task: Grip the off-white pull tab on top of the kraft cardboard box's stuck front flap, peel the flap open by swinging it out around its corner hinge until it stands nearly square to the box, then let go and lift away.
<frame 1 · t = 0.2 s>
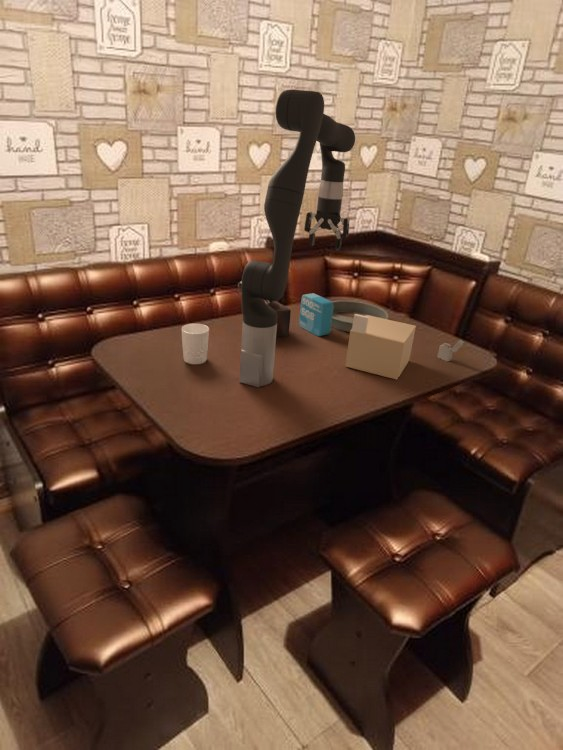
hand: (324, 247, 175), 29 cm above the table, tool pointing down, fingers open, 8 cm apart
lighter: (447, 361, 174), on the table
white cup: (195, 360, 160), on the table
cake pan: (353, 323, 199), on the table
carton: (378, 363, 168), on the table
pepper mill: (261, 333, 182), on the table
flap: (375, 346, 157), point 9 cm above the table, hinge at 0.0°, touching carton
data package: (313, 331, 188), on the table
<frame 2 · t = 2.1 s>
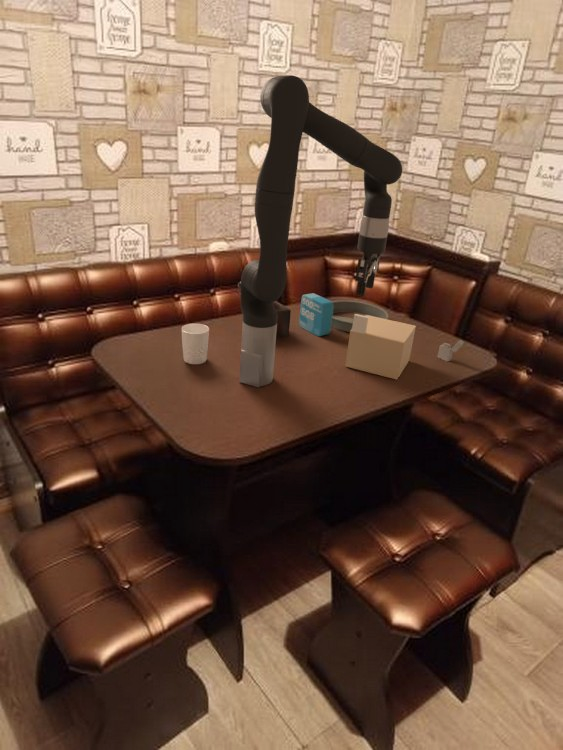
hand: (364, 291, 152), 24 cm above the table, tool pointing down, fingers open, 8 cm apart
nothing on the table moved.
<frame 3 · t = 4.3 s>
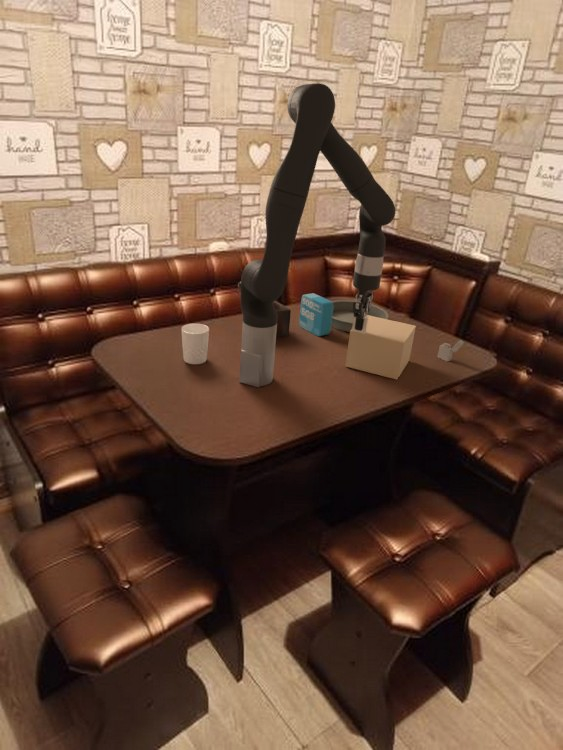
hand: (359, 328, 157), 13 cm above the table, tool pointing down, fingers closed
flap: (375, 346, 157), point 9 cm above the table, hinge at 0.0°, touching carton, gripper
everything else where it was.
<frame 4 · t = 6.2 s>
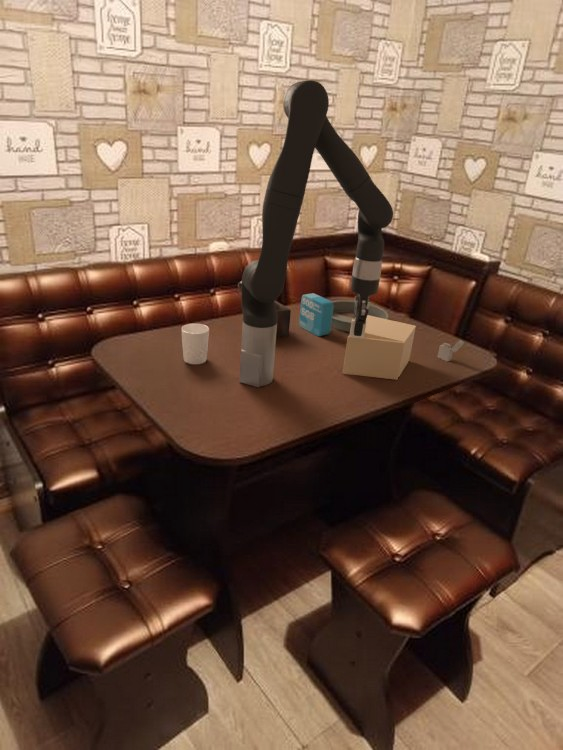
hand: (357, 333, 153), 13 cm above the table, tool pointing down, fingers closed
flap: (374, 350, 155), point 9 cm above the table, hinge at 18.9°, touching gripper
everything else where it was.
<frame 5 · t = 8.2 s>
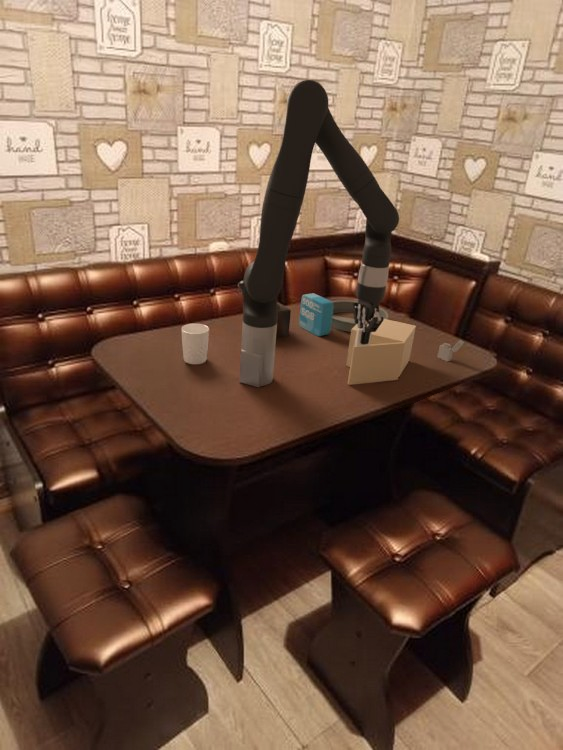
hand: (362, 342, 148), 13 cm above the table, tool pointing down, fingers closed
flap: (377, 355, 152), point 9 cm above the table, hinge at 44.6°, touching gripper
everything else where it was.
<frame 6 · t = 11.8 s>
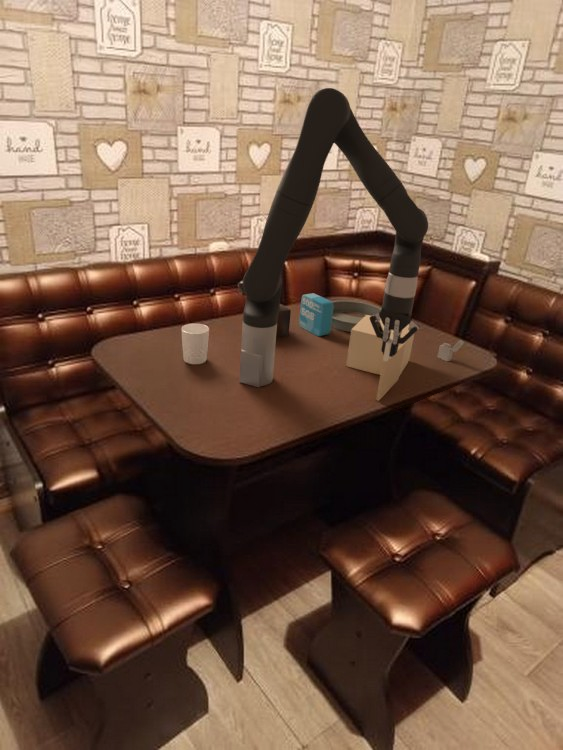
hand: (388, 354, 142), 13 cm above the table, tool pointing down, fingers closed
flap: (392, 362, 148), point 9 cm above the table, hinge at 84.6°, touching gripper
everything else where it was.
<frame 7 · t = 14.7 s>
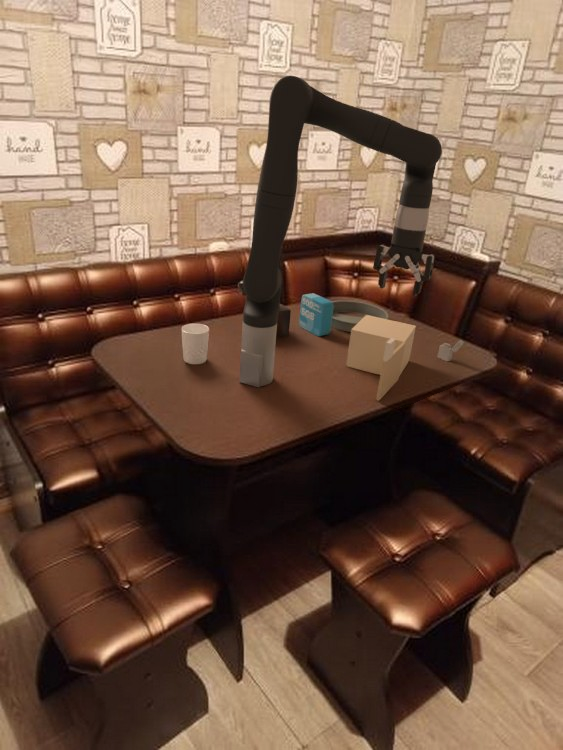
hand: (398, 291, 135), 30 cm above the table, tool pointing down, fingers open, 8 cm apart
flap: (392, 362, 148), point 9 cm above the table, hinge at 84.7°
everything else where it was.
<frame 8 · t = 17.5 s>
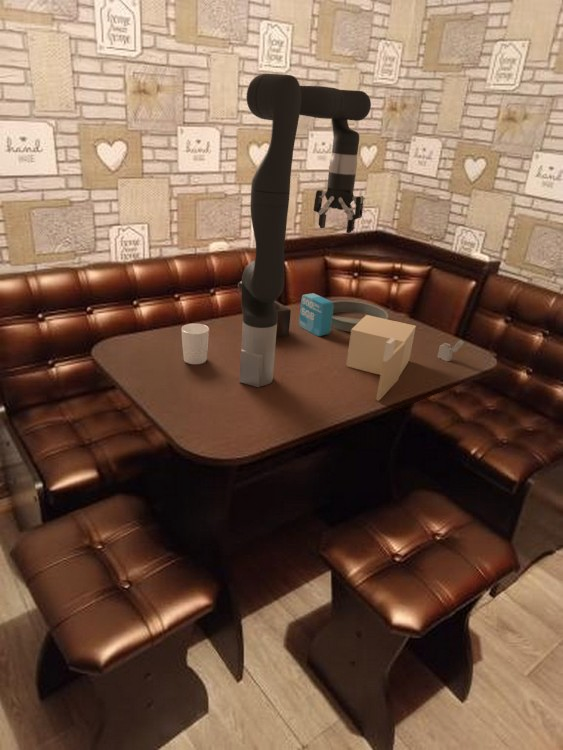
hand: (335, 230, 157), 38 cm above the table, tool pointing down, fingers open, 8 cm apart
nothing on the table moved.
at the end: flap at +85° (first picture: +0°); the gripper is holding nothing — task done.
